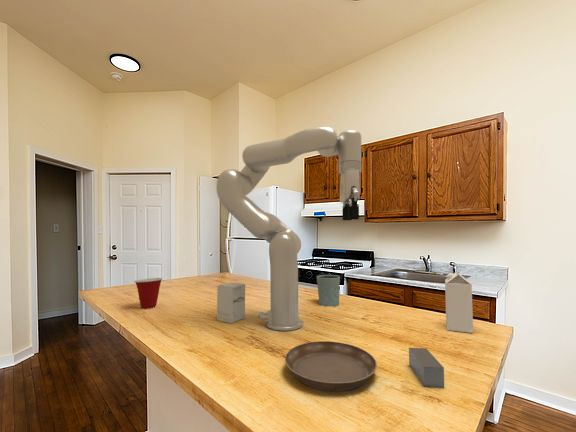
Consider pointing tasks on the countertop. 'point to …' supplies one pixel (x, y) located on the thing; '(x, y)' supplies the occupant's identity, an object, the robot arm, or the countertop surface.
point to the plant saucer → (330, 365)
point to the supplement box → (230, 302)
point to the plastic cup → (148, 291)
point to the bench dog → (426, 367)
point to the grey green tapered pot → (328, 290)
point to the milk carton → (458, 303)
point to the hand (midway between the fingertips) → (350, 219)
